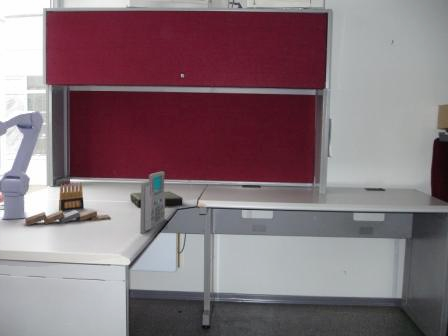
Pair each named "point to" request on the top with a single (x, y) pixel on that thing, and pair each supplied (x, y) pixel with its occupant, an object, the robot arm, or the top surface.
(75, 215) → the charcoal domino
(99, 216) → the walnut domino
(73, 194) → the ammunition clip
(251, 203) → the top surface
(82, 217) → the walnut domino
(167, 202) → the network switch
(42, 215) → the walnut domino
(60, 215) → the walnut domino
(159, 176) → the office telephone
